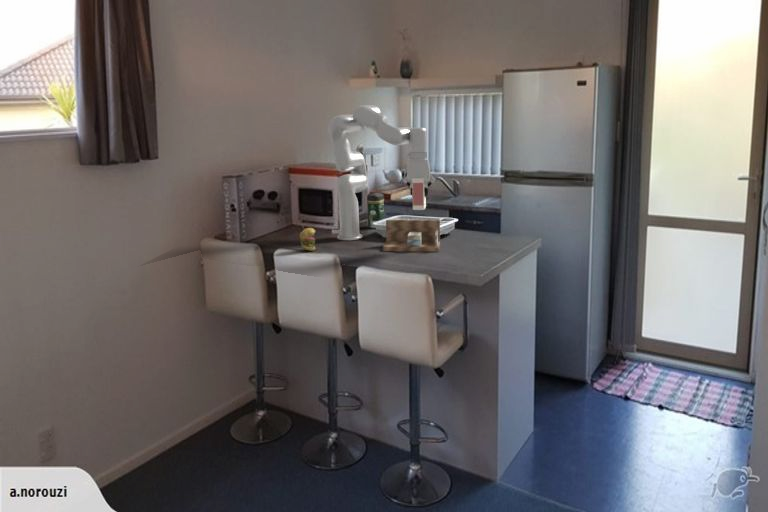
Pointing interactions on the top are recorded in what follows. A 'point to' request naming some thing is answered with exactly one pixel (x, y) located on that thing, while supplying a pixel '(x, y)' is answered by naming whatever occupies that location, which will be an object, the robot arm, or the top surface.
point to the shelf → (411, 226)
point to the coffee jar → (375, 208)
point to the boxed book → (418, 194)
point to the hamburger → (308, 239)
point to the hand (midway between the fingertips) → (419, 196)
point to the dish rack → (445, 223)
